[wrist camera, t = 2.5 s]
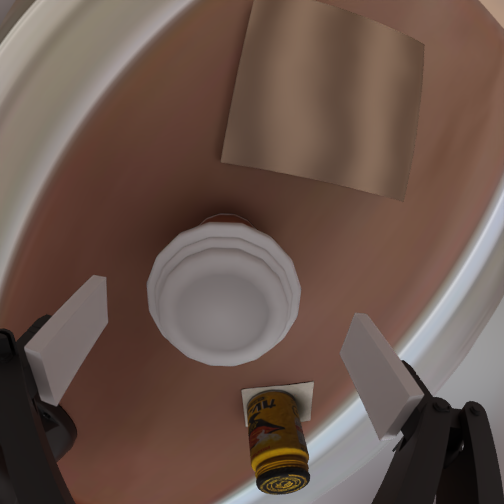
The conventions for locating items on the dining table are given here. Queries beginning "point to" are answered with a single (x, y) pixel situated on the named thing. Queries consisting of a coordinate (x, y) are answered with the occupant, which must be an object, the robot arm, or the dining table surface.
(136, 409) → the dining table surface
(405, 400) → the robot arm
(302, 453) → the condiment
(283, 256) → the coffee cup
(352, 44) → the base slab
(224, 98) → the dining table surface
